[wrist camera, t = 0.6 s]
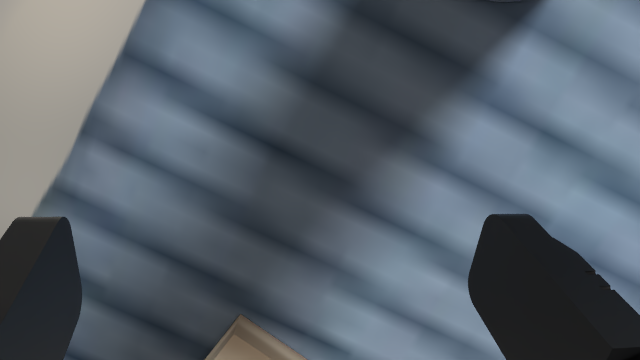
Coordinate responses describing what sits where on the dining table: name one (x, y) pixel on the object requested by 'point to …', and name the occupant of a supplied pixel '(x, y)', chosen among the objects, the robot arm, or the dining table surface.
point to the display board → (250, 344)
